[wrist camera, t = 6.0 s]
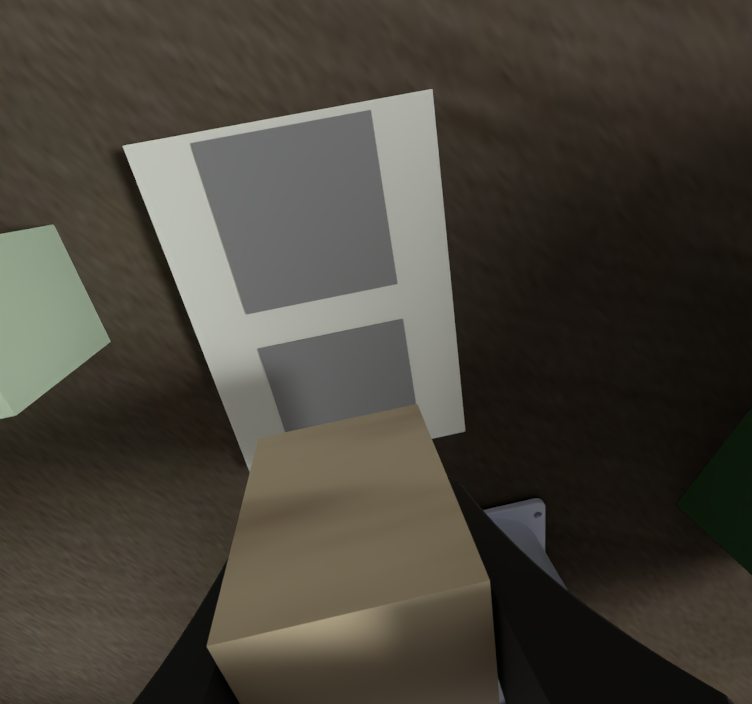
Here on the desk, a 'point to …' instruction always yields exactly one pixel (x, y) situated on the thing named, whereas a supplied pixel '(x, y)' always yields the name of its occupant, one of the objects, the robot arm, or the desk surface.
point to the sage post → (41, 317)
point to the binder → (726, 495)
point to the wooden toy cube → (354, 574)
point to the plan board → (313, 263)
